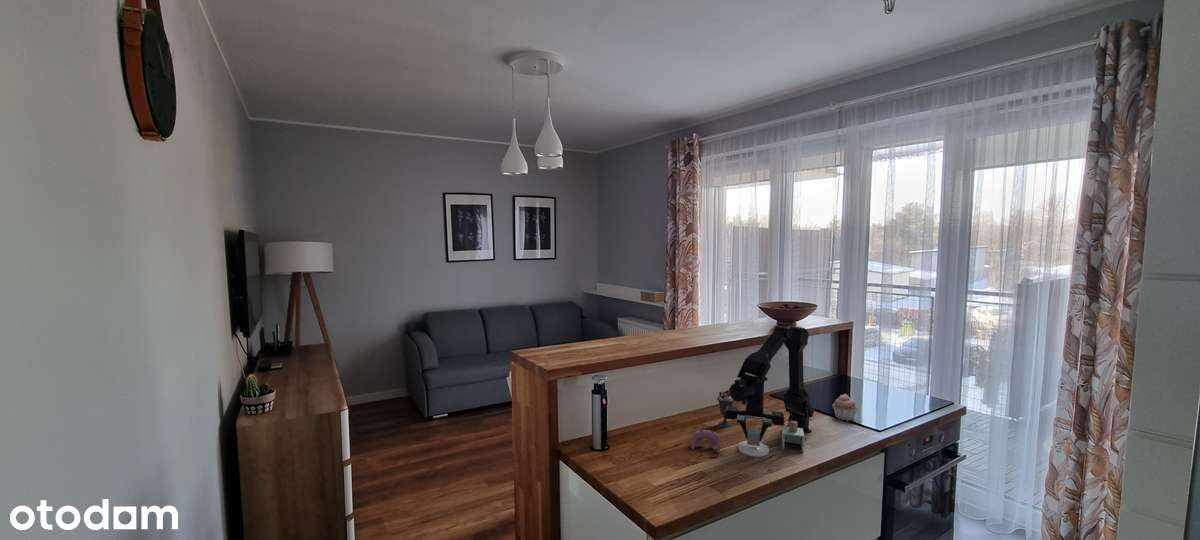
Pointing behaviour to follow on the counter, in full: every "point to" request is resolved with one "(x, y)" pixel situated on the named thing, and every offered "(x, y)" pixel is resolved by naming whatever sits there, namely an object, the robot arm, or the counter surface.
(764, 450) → the saucer
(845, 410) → the cupcake
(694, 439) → the video game controller
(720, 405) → the sundae
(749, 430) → the slate cube
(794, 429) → the sage camera
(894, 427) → the counter surface
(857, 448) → the counter surface
